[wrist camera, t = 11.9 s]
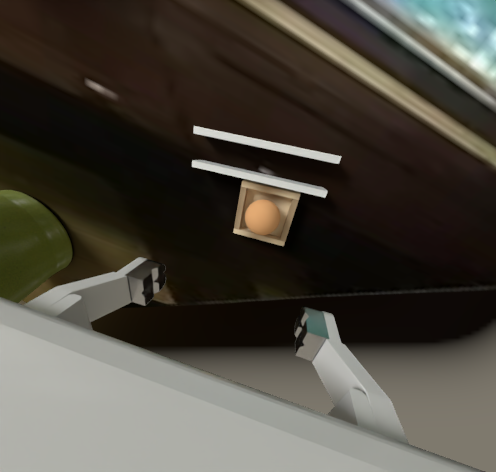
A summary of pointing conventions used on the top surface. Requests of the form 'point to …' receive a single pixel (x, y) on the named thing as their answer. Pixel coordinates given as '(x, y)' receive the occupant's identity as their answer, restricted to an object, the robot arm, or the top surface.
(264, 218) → the ball
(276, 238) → the coaster tray
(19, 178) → the top surface
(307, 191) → the lane walls
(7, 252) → the plant pot
